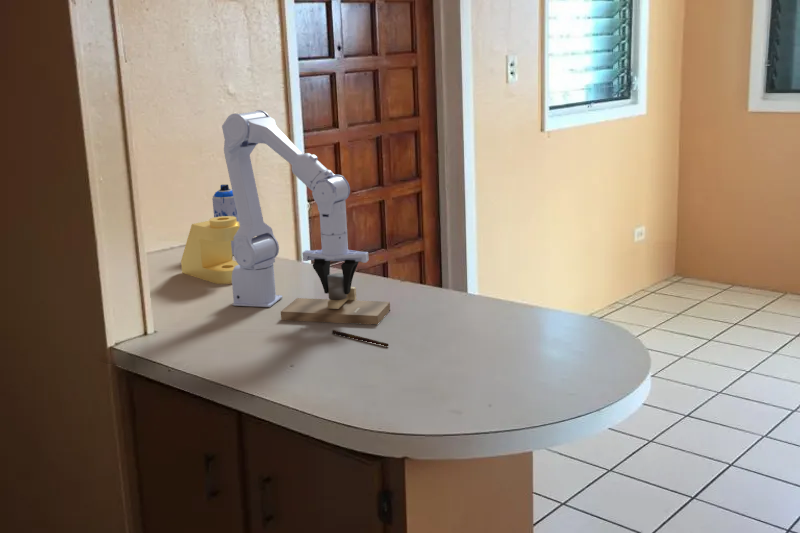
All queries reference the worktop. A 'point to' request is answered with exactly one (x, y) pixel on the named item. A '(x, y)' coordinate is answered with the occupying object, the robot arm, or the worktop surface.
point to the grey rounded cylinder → (338, 291)
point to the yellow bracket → (211, 250)
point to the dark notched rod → (358, 337)
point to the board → (335, 311)
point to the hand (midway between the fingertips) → (337, 292)
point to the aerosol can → (224, 205)
